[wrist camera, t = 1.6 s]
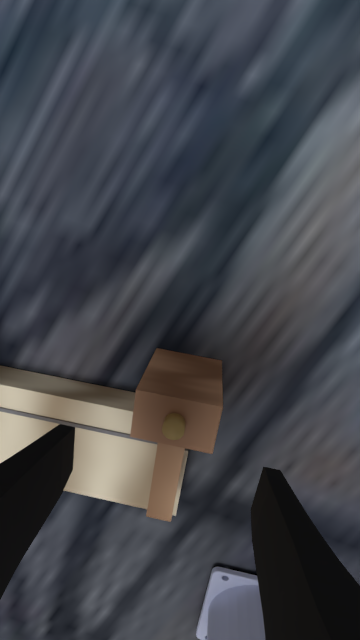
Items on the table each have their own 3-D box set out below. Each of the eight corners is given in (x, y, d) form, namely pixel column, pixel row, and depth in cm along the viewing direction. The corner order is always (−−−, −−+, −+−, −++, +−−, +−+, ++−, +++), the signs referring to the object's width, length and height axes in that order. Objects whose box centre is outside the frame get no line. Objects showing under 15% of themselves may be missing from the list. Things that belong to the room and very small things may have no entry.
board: (196, 404, 20) (193, 425, 18) (179, 490, 22) (175, 517, 20) (-27, 360, 21) (-53, 374, 19) (-22, 446, 23) (-45, 467, 21)
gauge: (221, 360, 19) (223, 414, 13) (198, 470, 21) (191, 552, 16) (156, 348, 19) (132, 396, 14) (141, 457, 22) (115, 534, 16)
